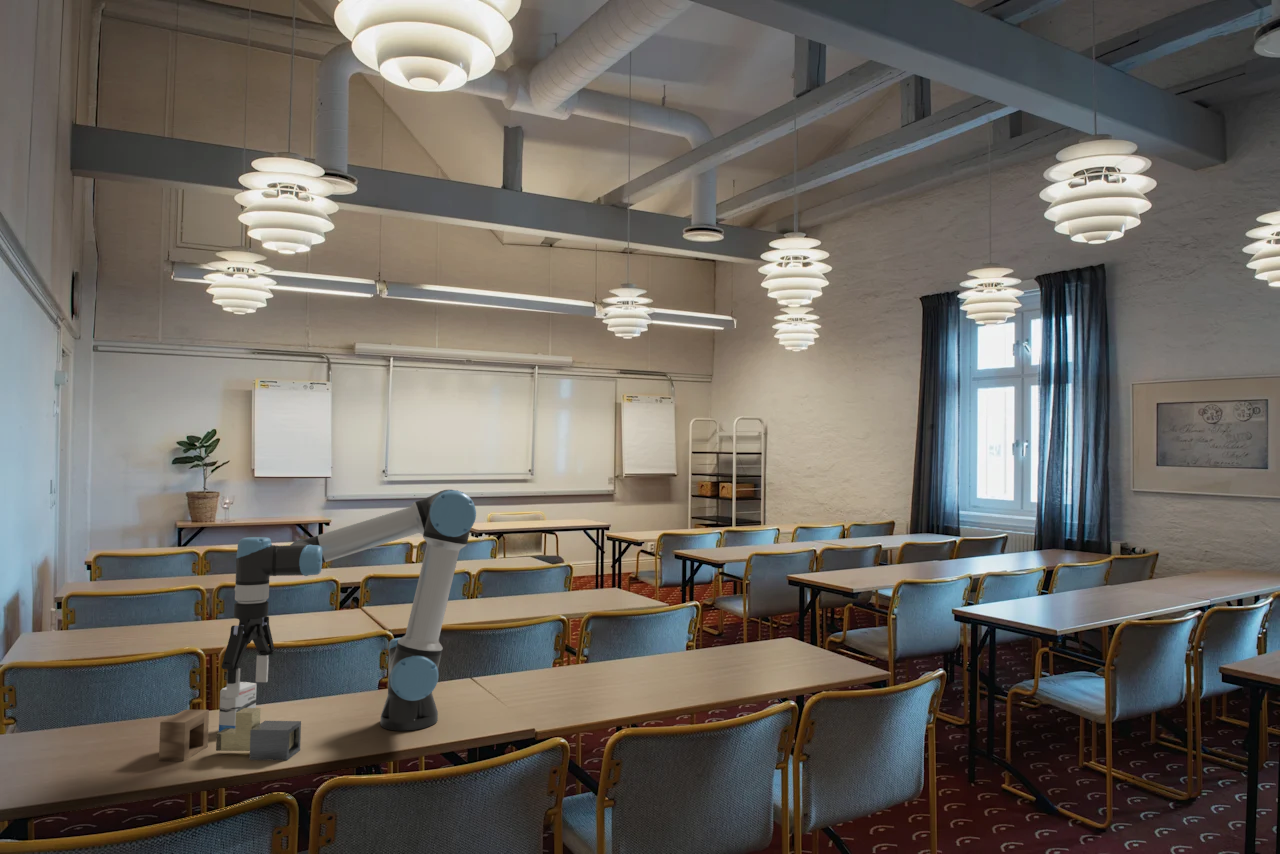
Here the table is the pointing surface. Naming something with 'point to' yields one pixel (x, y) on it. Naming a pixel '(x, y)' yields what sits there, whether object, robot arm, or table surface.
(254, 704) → the ink box
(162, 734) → the socket
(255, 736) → the sleeve
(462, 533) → the robot arm
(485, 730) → the table surface
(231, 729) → the l-shaped notched block
